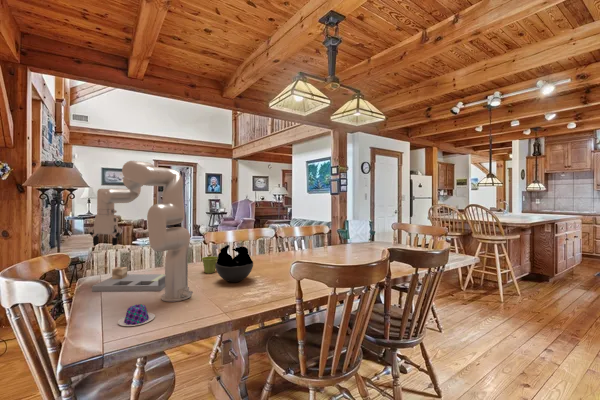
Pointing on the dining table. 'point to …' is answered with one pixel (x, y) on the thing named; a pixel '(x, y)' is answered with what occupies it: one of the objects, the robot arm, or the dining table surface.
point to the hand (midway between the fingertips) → (105, 244)
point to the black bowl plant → (234, 264)
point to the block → (119, 273)
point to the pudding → (136, 316)
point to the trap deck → (133, 283)
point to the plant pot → (209, 264)
